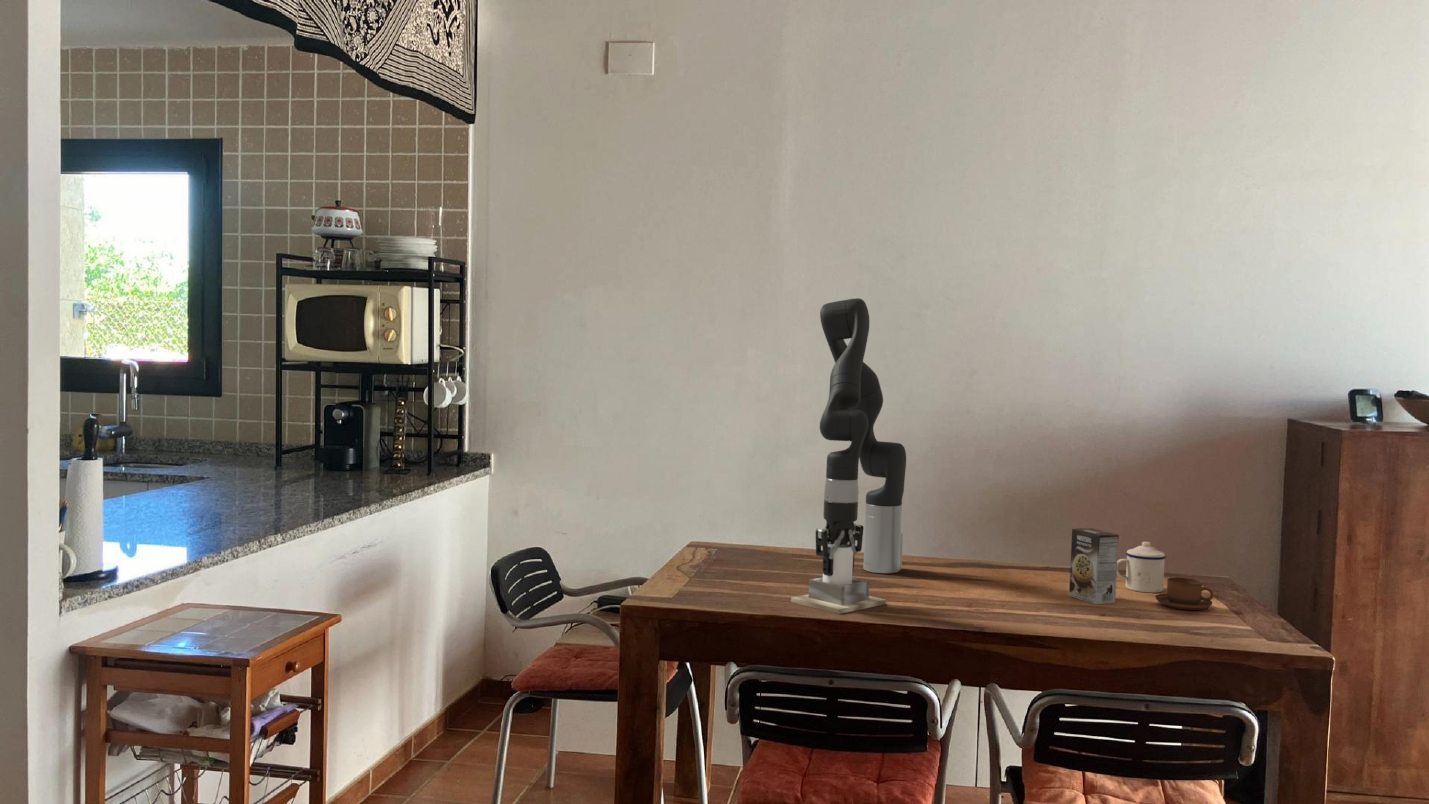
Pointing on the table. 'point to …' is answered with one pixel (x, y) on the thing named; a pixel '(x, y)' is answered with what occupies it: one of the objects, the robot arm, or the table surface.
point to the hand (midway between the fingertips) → (838, 573)
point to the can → (841, 566)
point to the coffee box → (1093, 565)
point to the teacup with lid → (1144, 569)
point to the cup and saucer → (1185, 594)
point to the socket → (838, 596)
